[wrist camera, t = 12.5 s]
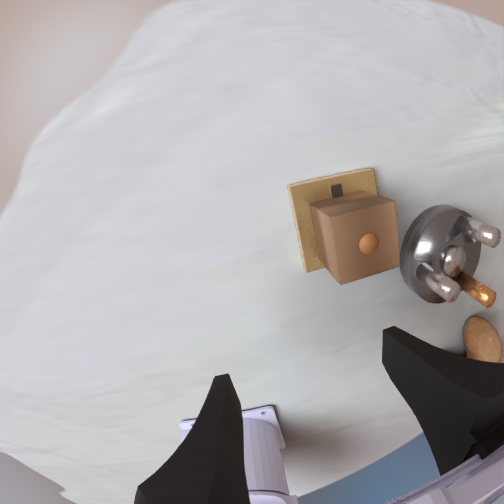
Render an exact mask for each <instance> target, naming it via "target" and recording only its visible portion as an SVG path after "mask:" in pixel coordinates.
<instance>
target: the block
mask: <svg viewBox="0 0 504 504" xmlns="http://www.w3.org/2000/svg"><path fill="white" fill-rule="evenodd" d="M310 209H311V214H312V219H313V224H314V230H315V235H316V241H317V246H318V252H319V257H320V261H321V262H322V264H323V265H324V266H325V267H326V268H327V270H328V271H329V272H330V273H331V274H332V276H333V277H334V278H335V279H336V280H337V282H338V283H339V284H340V285H342V284H346V283H349V282H352V281H355V280H359V279H362V278H365V277H368V276H371V275H374V274H378V273H381V272H384V271H387V270H390V269H393V268H396V267H399V266H400V260H399V243H398V230H397V219H396V209H395V201H392V200H390V199H387V198H384V197H381V196H378V195H375V194H372V193H369V192H366V191H363V192H358V193H354V194H350V195H345V196H341V197H337V198H333V199H328V200H324V201H320V202H316V203H312V204H310Z"/></svg>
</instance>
